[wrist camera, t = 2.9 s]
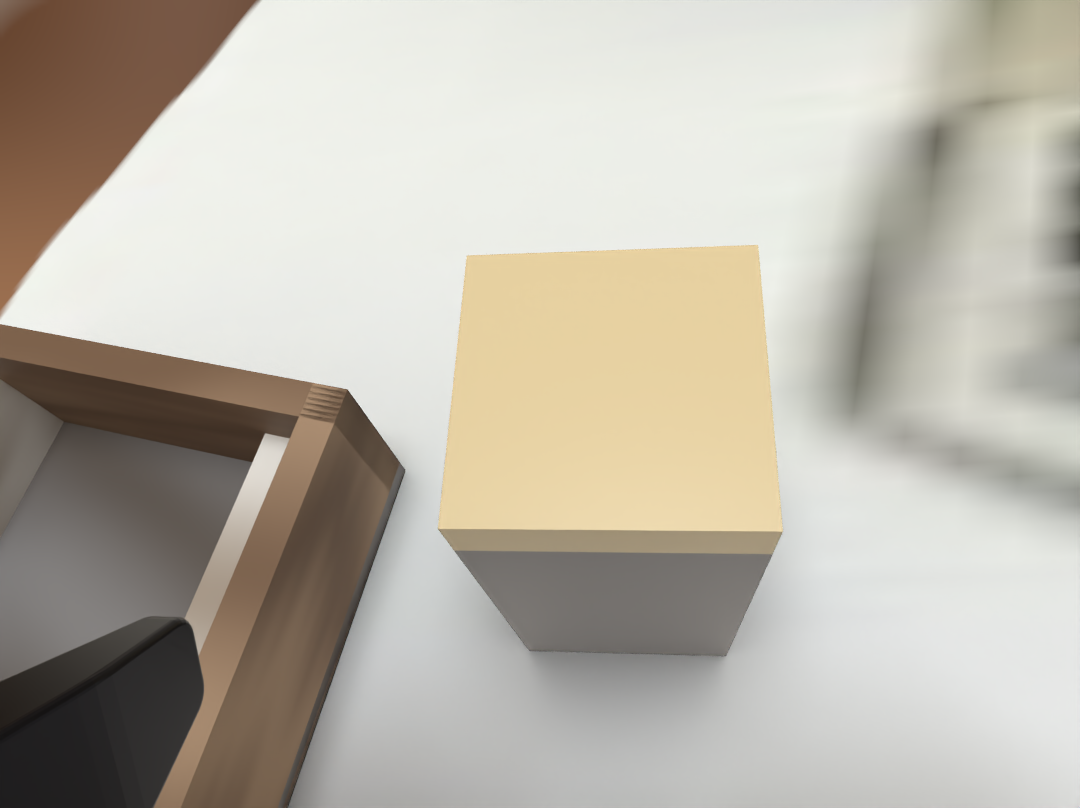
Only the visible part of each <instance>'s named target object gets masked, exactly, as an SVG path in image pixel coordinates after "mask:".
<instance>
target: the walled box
mask: <svg viewBox="0 0 1080 808" xmlns="http://www.w3.org/2000/svg"><path fill="white" fill-rule="evenodd" d="M404 472H405V469H404V468H403V466H402V465H401V463H400V462H399V461H398V459H397V458H396V456H395V455H394V454H393V452H392V451H391V449H390V448H389V447H388V445H387V444H386V443H385V441H384V440H383V438H382V437H381V436H380V434H379V433H378V431H377V430H376V429H375V427H374V426H373V424H372V423H371V422H370V420H369V419H368V417H367V416H366V415H365V413H364V412H363V410H362V409H361V408H360V406H359V405H358V403H357V402H356V401H355V399H354V398H353V396H352V395H351V394H350V392H349V391H348V390H347V389H342V388H337V387H331V386H326V385H321V384H315V383H310V382H305V381H299V380H294V379H289V378H283V377H278V376H273V375H267V374H262V373H257V372H251V371H246V370H241V369H236V368H230V367H225V366H220V365H214V364H209V363H204V362H198V361H193V360H188V359H182V358H177V357H172V356H166V355H161V354H156V353H150V352H145V351H140V350H134V349H129V348H124V347H118V346H113V345H108V344H102V343H97V342H92V341H86V340H81V339H76V338H70V337H65V336H60V335H54V334H49V333H44V332H38V331H33V330H28V329H22V328H17V327H12V326H6V325H1V324H0V681H2V680H4V679H7V678H9V677H11V676H13V675H16V674H18V673H20V672H23V671H25V670H27V669H29V668H32V667H34V666H36V665H38V664H41V663H43V662H45V661H47V660H50V659H52V658H54V657H57V656H59V655H61V654H63V653H66V652H68V651H70V650H72V649H75V648H77V647H79V646H81V645H84V644H86V643H88V642H90V641H93V640H95V639H97V638H100V637H102V636H104V635H106V634H109V633H111V632H113V631H115V630H118V629H120V628H122V627H124V626H127V625H129V624H131V623H134V622H136V621H138V620H140V619H143V618H145V617H150V616H160V617H181V618H184V619H186V620H187V621H188V622H189V623H190V624H191V626H192V628H193V632H194V636H195V641H196V646H197V651H198V655H199V660H200V665H201V670H202V675H203V680H204V696H203V701H202V704H201V707H200V710H199V712H198V714H197V716H196V718H195V721H194V723H193V725H192V727H191V729H190V731H189V733H188V736H187V738H186V740H185V742H184V744H183V746H182V748H181V751H180V753H179V755H178V757H177V759H176V761H175V763H174V765H173V768H172V770H171V772H170V774H169V776H168V778H167V780H166V783H165V785H164V787H163V789H162V791H161V793H160V795H159V798H158V800H157V802H156V804H155V806H154V808H287V806H288V803H289V801H290V798H291V795H292V792H293V789H294V786H295V783H296V781H297V778H298V775H299V772H300V769H301V766H302V763H303V761H304V758H305V755H306V752H307V749H308V746H309V743H310V741H311V738H312V735H313V732H314V729H315V726H316V723H317V721H318V718H319V715H320V712H321V709H322V706H323V703H324V701H325V698H326V695H327V692H328V689H329V686H330V683H331V681H332V678H333V675H334V672H335V669H336V666H337V663H338V661H339V658H340V655H341V652H342V649H343V646H344V643H345V641H346V638H347V635H348V632H349V629H350V626H351V623H352V621H353V618H354V615H355V612H356V609H357V606H358V603H359V601H360V598H361V595H362V592H363V589H364V586H365V583H366V581H367V578H368V575H369V572H370V569H371V566H372V563H373V561H374V558H375V555H376V552H377V549H378V546H379V543H380V541H381V538H382V535H383V532H384V529H385V526H386V523H387V521H388V518H389V515H390V512H391V509H392V506H393V503H394V501H395V498H396V495H397V492H398V489H399V486H400V483H401V481H402V478H403V475H404Z"/></svg>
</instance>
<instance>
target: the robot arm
mask: <svg viewBox="0 0 1080 808" xmlns="http://www.w3.org/2000/svg"><path fill="white" fill-rule="evenodd" d="M203 696H204V680H203V675H202V670H201V665H200V660H199V655H198V651H197V646H196V641H195V636H194V632H193V628H192V626H191V624H190V623H189V622H188V621H187V620H186V619H184V618H181V617H160V616H150V617H145V618H143V619H140V620H138V621H136V622H134V623H131V624H129V625H127V626H124V627H122V628H120V629H118V630H115V631H113V632H111V633H109V634H106V635H104V636H102V637H100V638H97V639H95V640H93V641H90V642H88V643H86V644H84V645H81V646H79V647H77V648H75V649H72V650H70V651H68V652H66V653H63V654H61V655H59V656H57V657H54V658H52V659H50V660H47V661H45V662H43V663H41V664H38V665H36V666H34V667H32V668H29V669H27V670H25V671H23V672H20V673H18V674H16V675H13V676H11V677H9V678H7V679H4V680H2V681H0V808H154V806H155V804H156V802H157V800H158V798H159V795H160V793H161V791H162V789H163V787H164V785H165V783H166V780H167V778H168V776H169V774H170V772H171V770H172V768H173V765H174V763H175V761H176V759H177V757H178V755H179V753H180V751H181V748H182V746H183V744H184V742H185V740H186V738H187V736H188V733H189V731H190V729H191V727H192V725H193V723H194V721H195V718H196V716H197V714H198V712H199V710H200V707H201V704H202V701H203Z"/></svg>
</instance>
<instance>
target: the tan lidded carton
mask: <svg viewBox="0 0 1080 808" xmlns="http://www.w3.org/2000/svg"><path fill="white" fill-rule="evenodd" d="M438 530H439V531H440V532H441V534H442V535H443V536H444V538H445V539H446V540H447V542H448V543H449V544H450V546H451V547H452V548H453V550H454V551H455V552H456V554H457V555H458V556H459V558H460V559H461V560H462V562H463V563H464V564H465V566H466V567H467V568H468V570H469V571H470V572H471V574H472V575H473V576H474V578H475V579H476V580H477V582H478V583H479V584H480V586H481V587H482V588H483V590H484V591H485V592H486V594H487V595H488V596H489V598H490V599H491V600H492V602H493V603H494V604H495V606H496V607H497V608H498V610H499V611H500V612H501V614H502V615H503V616H504V618H505V619H506V620H507V622H508V623H509V624H510V626H511V627H512V628H513V630H514V631H515V632H516V634H517V635H518V636H519V638H520V639H521V640H522V642H523V643H524V644H525V646H526V647H527V648H528V650H529V651H557V652H594V653H630V654H667V655H704V656H726V655H727V653H728V650H729V648H730V646H731V644H732V642H733V639H734V637H735V635H736V633H737V631H738V628H739V626H740V624H741V622H742V620H743V618H744V615H745V613H746V611H747V609H748V607H749V604H750V602H751V600H752V598H753V596H754V593H755V591H756V589H757V587H758V585H759V582H760V580H761V578H762V576H763V574H764V572H765V569H766V567H767V565H768V563H769V561H770V558H771V556H772V554H773V552H774V550H775V547H776V545H777V543H778V541H779V539H780V537H781V534H782V532H783V528H782V517H781V505H780V494H779V482H778V470H777V459H776V447H775V436H774V424H773V413H772V401H771V390H770V378H769V366H768V355H767V343H766V332H765V320H764V309H763V297H762V286H761V274H760V262H759V251H758V245H745V246H717V247H690V248H662V249H635V250H607V251H580V252H552V253H525V254H497V255H470V256H467V259H466V269H465V278H464V288H463V297H462V306H461V316H460V325H459V335H458V344H457V354H456V363H455V372H454V382H453V391H452V401H451V410H450V419H449V429H448V438H447V448H446V457H445V467H444V476H443V485H442V495H441V504H440V514H439V523H438Z"/></svg>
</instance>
